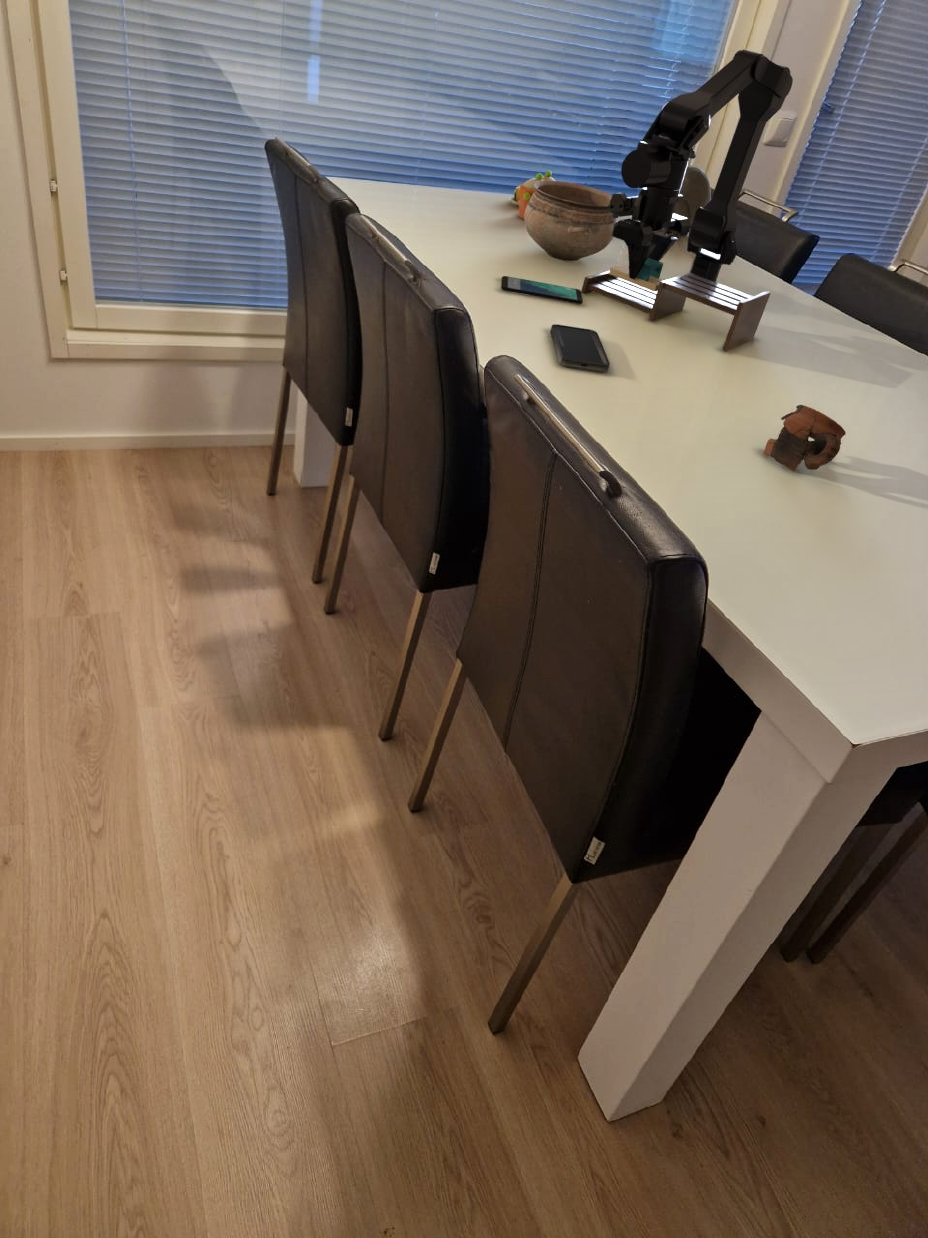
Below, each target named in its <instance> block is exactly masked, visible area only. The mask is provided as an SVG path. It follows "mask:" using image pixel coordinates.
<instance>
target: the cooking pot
mask: <svg viewBox="0 0 928 1238" xmlns="http://www.w3.org/2000/svg"><path fill="white" fill-rule="evenodd" d="M534 187H535V189H536V190H535V192H534V193H533V195H532V196H531V198H530V200H529V202H528V204H527V207H526V209H525V214H524V219H523V220H524V226H525V229H526V232H527V233H528V235H529V237H530V238H531V239H532V240H533V241H534V242H535V243H536V244H537V246H539V247H540V248H541V249H542V250H543V251H544V252H545V253H546V254H547V255H548V256H549V257H551V258H554V259H557V260H560V261H566V262H576V261H579V260H581V259H584V258H587V257H590V256H593V255H595V254H597V253H599V252H601V251H604V250H605V249H606V248H607V247H608V246H609V245H610V243H611V242H612V241H613V239H614V237H613V236H612V235H611V234H612V230H613V226H614V224H615V223H616V222H617V218H612V213H611V212H610V210H609V209H608V205H609V204H610V200H611V198H612V195H613V194H610V193H609V192H606V191H603V190H601V189H598V188H595V187H591V186H588V185H584V184H580V183H575V182H569V181H563V180H555V181H553V180H543V181H537V182H535V183H534Z"/></svg>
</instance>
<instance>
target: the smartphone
mask: <svg viewBox="0 0 928 1238" xmlns="http://www.w3.org/2000/svg"><path fill="white" fill-rule="evenodd" d="M500 281H501V282H500V289H501V290H502V291H504V292H509V293H513V294H521V295H526V296H532V297H536V298H537V297H538V298H542V299H547V300H548V299H549V300H552V301H560V302H565V303H570V304H575V305H576V304H577V305H582V303H583V301H584V300H583V294H582V293H581V291H582V290H581V289H579V288H574V287H569V286H564V285H558V284H552V283H547V282H541V281H536V280H530V279H526V278H519V277H513V276H507V275H503V276H501V279H500Z"/></svg>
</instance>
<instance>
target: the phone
mask: <svg viewBox="0 0 928 1238" xmlns="http://www.w3.org/2000/svg"><path fill="white" fill-rule="evenodd" d="M549 331H550V332H549V334H550V337H551V340H552V343H553V347H554V351H555V354H556V357H557V361H558V364H559V365H560V366H562V367H567V368H573V369H580V370H585V371H586V370H587V371H593V372H598V373H599V372H600V373H607V372H608V371H609V368H610V365H611V363H610V361H609V358H608V356H607V353H606V350H605V348H604V346H603V343H602V341H601V338H600V336H599V333H598V331H596V330H593V329H590V328H583V327H577V326H571V325H563V324H556V323H554V324H551V327H550V330H549Z"/></svg>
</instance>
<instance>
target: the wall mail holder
mask: <svg viewBox="0 0 928 1238" xmlns="http://www.w3.org/2000/svg"><path fill="white" fill-rule="evenodd" d="M663 267H664V262H661V261H656V260H654V259H651V258H648V259H647V260H646V262H645V264H644V265H643V267H642V269H641V270H640V272H639V274H638V275H637V277H636V278H635V279H631V278H630V277H629V265H626V264H619V265H616V266H612V267H610V268H609V271H610V272H609V274H610V275H613V276H615V277H618V278H620V279H623V280H626V281H628V282H631V283H633V284H636V285H638V286H641V287H644V288H646V289H649V290H651V291H654V292H655V291H658V287H659V284H660V282H661V281H664V279H662V278H660V277H661V274H662V270H663Z"/></svg>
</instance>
